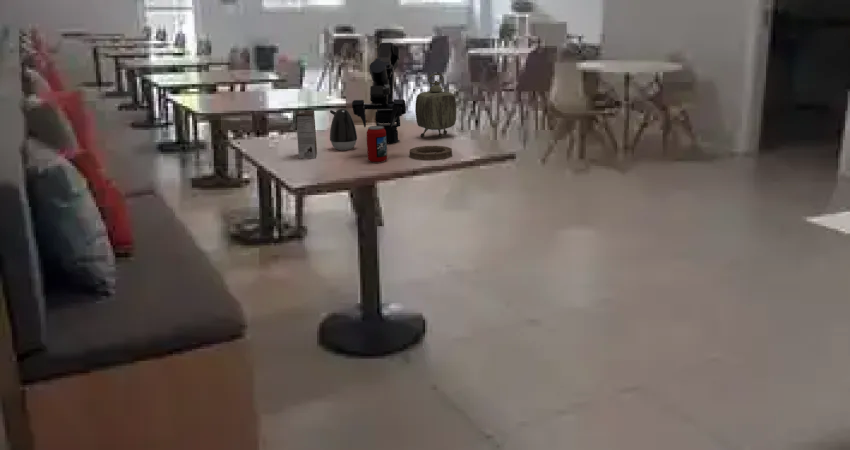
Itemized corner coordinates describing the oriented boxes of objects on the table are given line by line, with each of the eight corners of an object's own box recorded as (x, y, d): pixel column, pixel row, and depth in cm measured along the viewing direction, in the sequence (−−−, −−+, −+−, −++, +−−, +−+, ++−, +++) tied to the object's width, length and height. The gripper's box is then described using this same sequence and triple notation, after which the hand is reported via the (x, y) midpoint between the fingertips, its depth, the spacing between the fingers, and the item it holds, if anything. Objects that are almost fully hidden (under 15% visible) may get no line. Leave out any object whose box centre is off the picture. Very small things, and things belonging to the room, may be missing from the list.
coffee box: (299, 153, 302) (296, 110, 297) (317, 153, 302) (314, 109, 298) (298, 159, 293) (295, 114, 289) (316, 158, 294) (313, 113, 289)
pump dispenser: (339, 145, 315) (337, 105, 311) (362, 147, 311) (360, 107, 306) (324, 150, 307) (322, 109, 302) (348, 152, 302) (345, 111, 298)
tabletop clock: (446, 133, 334) (445, 71, 327) (459, 136, 327) (458, 73, 319) (416, 137, 327) (414, 74, 320) (427, 141, 319) (426, 76, 312)
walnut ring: (401, 157, 291) (401, 152, 291) (424, 149, 303) (424, 144, 303) (437, 161, 284) (437, 155, 283) (459, 153, 296) (459, 147, 295)
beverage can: (384, 163, 283) (383, 128, 279) (365, 163, 284) (364, 128, 281) (389, 159, 289) (387, 125, 286) (370, 158, 291) (369, 125, 287)
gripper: (351, 77, 289) (347, 113, 281) (404, 76, 287) (402, 112, 280) (355, 96, 299) (352, 131, 291) (406, 95, 297) (405, 131, 290)
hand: (377, 126), depth 288 cm, fingers open, 9 cm apart
